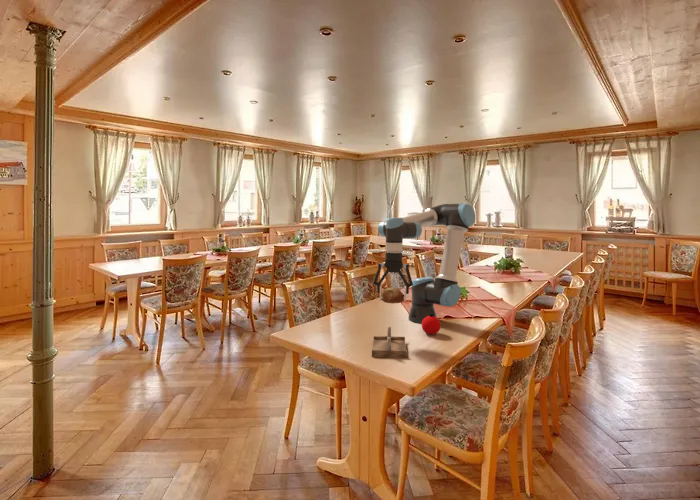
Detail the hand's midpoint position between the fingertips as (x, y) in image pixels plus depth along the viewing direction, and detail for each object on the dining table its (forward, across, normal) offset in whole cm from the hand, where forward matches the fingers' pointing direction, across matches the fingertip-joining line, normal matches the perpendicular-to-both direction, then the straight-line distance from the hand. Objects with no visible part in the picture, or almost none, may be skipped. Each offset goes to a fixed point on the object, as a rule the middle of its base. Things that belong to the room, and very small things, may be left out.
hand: (392, 300), depth 174 cm
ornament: (+18, -18, -12) cm, 29 cm away
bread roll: (+1, 0, 0) cm, 1 cm away
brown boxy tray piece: (+19, +1, +11) cm, 22 cm away
